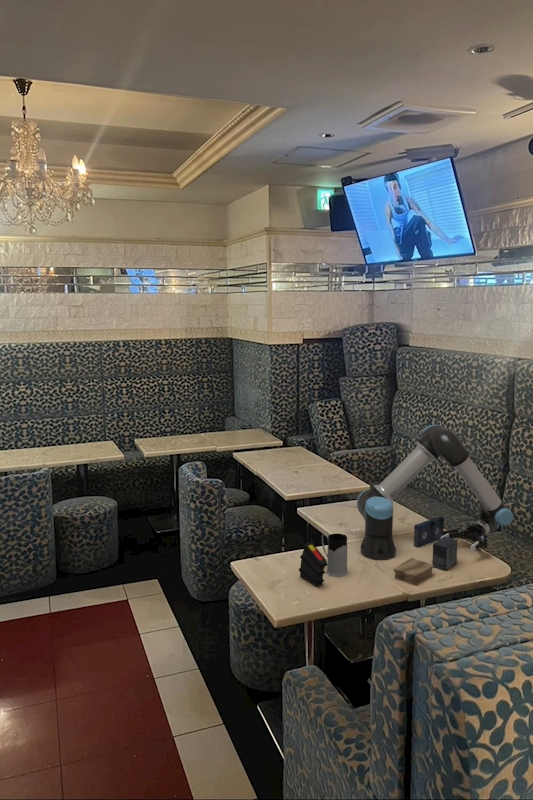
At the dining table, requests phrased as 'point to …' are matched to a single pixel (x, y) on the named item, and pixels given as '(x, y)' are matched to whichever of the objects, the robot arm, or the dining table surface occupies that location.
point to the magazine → (312, 565)
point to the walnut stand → (413, 571)
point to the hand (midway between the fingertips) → (455, 544)
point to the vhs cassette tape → (428, 531)
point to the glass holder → (336, 555)
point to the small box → (445, 553)
